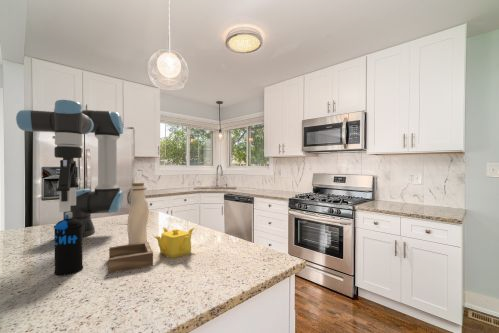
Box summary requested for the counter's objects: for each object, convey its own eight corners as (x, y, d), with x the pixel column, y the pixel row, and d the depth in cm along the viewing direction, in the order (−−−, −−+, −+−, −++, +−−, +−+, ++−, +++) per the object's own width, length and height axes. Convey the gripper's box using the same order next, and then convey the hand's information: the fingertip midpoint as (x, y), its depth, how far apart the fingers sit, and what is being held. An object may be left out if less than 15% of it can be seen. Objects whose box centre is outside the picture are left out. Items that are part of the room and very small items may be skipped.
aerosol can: (64, 265, 87) (64, 210, 87) (88, 265, 88) (88, 210, 88) (47, 276, 79) (47, 215, 79) (74, 275, 80) (73, 215, 80)
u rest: (109, 259, 94) (109, 247, 94) (148, 252, 101) (148, 241, 101) (108, 273, 82) (108, 259, 82) (153, 265, 88) (153, 252, 88)
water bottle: (138, 247, 106) (138, 184, 106) (120, 246, 108) (120, 183, 108) (152, 240, 116) (152, 182, 116) (136, 239, 118) (136, 182, 118)
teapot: (163, 246, 108) (163, 225, 108) (195, 246, 109) (195, 224, 109) (151, 259, 93) (151, 234, 93) (189, 259, 94) (189, 234, 94)
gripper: (61, 148, 92) (61, 204, 92) (45, 142, 70) (45, 215, 71) (85, 149, 96) (85, 202, 96) (77, 144, 74) (76, 213, 74)
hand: (68, 208), depth 83 cm, fingers open, 13 cm apart
